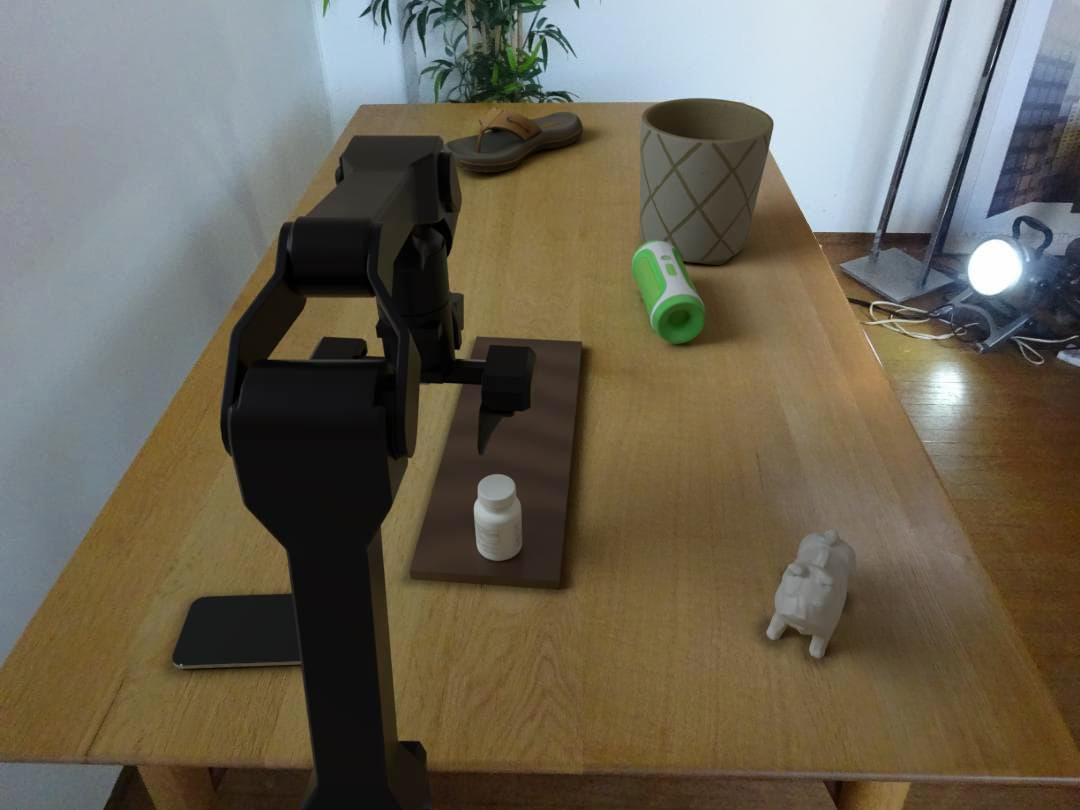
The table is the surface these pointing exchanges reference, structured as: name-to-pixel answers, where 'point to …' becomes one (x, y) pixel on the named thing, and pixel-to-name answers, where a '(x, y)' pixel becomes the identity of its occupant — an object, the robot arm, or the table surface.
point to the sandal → (512, 139)
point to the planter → (701, 175)
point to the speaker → (668, 292)
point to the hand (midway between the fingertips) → (431, 449)
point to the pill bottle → (498, 518)
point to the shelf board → (517, 452)
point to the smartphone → (238, 632)
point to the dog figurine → (814, 589)
